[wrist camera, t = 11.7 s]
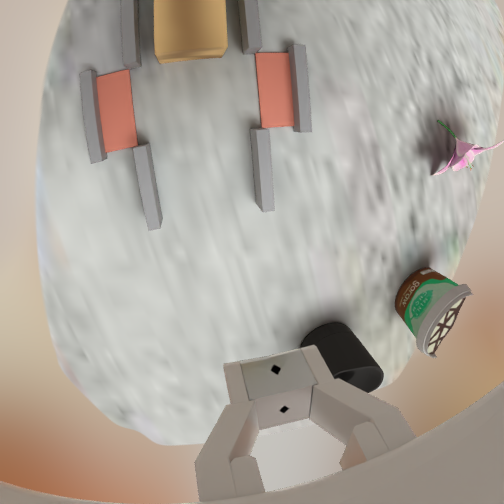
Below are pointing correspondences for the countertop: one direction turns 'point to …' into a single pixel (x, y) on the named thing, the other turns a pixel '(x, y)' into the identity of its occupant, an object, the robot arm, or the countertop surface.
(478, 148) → the lily
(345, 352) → the pen holder
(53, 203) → the countertop surface
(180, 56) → the honey block
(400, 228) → the countertop surface
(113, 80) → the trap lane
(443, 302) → the food container
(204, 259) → the countertop surface
